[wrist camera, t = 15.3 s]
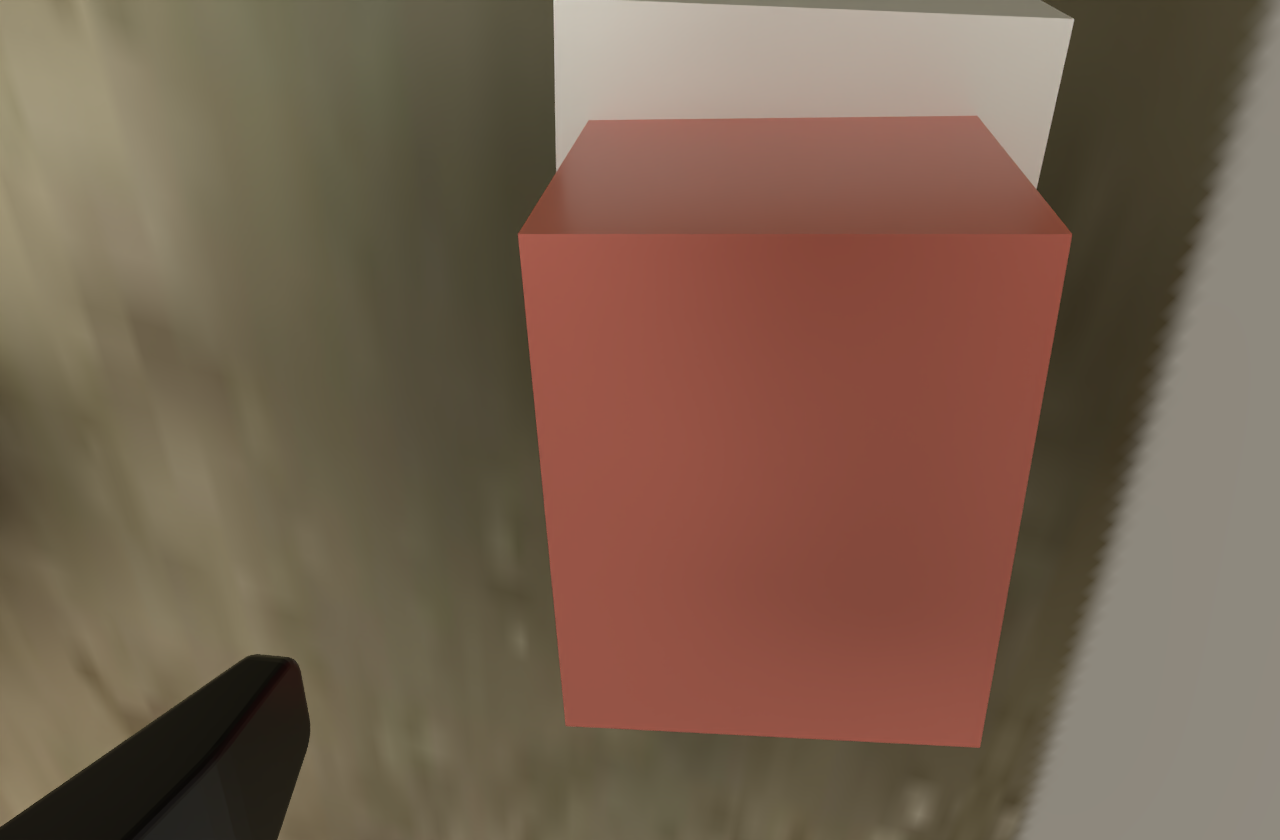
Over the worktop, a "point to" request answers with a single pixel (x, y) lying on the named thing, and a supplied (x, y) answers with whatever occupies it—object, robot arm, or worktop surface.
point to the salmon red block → (787, 419)
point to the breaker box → (812, 63)
